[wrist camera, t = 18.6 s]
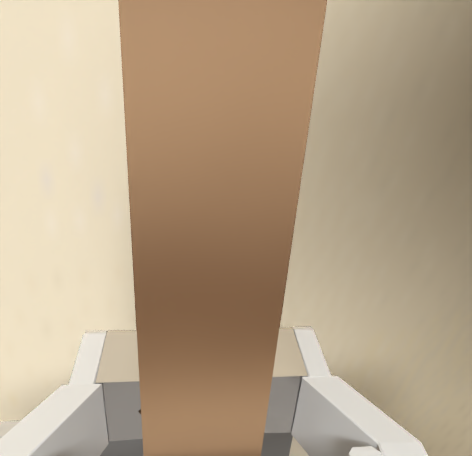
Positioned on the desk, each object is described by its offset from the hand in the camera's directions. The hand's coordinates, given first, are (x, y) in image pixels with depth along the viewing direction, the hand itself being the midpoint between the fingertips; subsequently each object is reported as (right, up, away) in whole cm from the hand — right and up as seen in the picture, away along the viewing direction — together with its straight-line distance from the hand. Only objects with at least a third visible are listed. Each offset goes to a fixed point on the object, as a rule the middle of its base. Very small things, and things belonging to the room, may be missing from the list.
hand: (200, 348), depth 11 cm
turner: (0, 0, +2) cm, 2 cm away
